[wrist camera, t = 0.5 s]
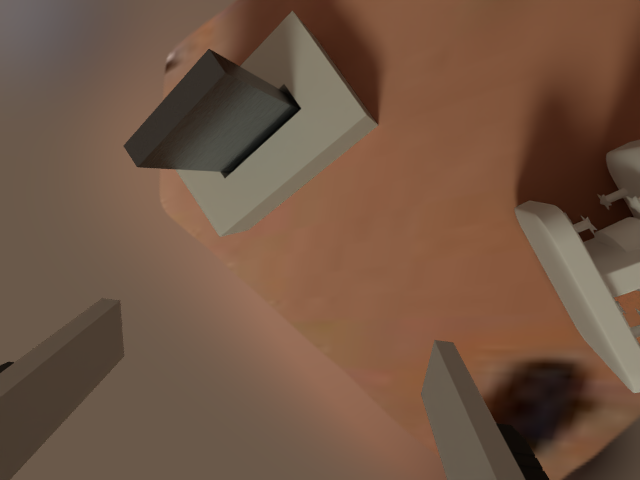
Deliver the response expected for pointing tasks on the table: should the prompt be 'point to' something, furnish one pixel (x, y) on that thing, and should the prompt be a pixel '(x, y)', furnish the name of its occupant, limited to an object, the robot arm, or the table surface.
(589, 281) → the cable organizer
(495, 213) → the table surface
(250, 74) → the cover plate
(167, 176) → the table surface
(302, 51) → the slotted box
